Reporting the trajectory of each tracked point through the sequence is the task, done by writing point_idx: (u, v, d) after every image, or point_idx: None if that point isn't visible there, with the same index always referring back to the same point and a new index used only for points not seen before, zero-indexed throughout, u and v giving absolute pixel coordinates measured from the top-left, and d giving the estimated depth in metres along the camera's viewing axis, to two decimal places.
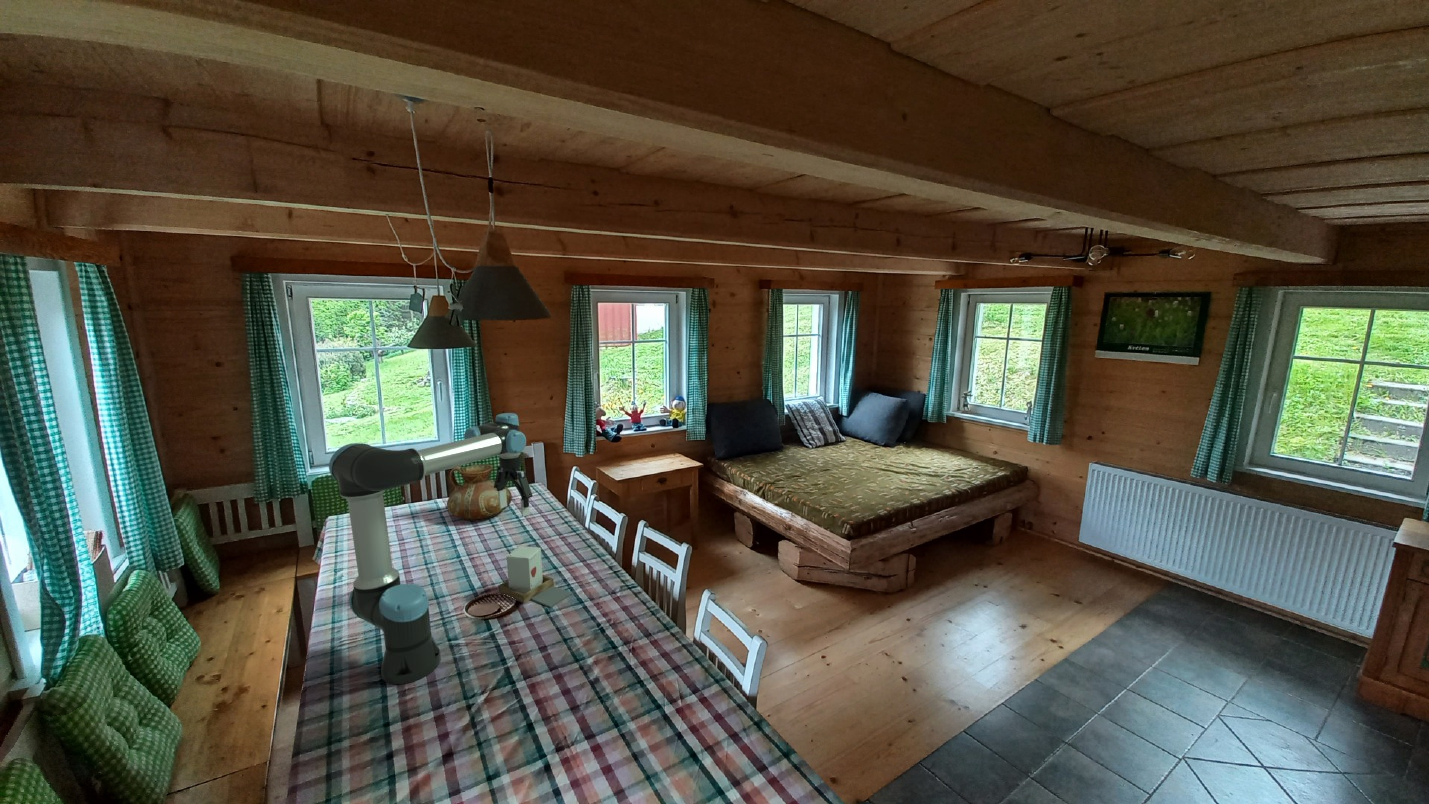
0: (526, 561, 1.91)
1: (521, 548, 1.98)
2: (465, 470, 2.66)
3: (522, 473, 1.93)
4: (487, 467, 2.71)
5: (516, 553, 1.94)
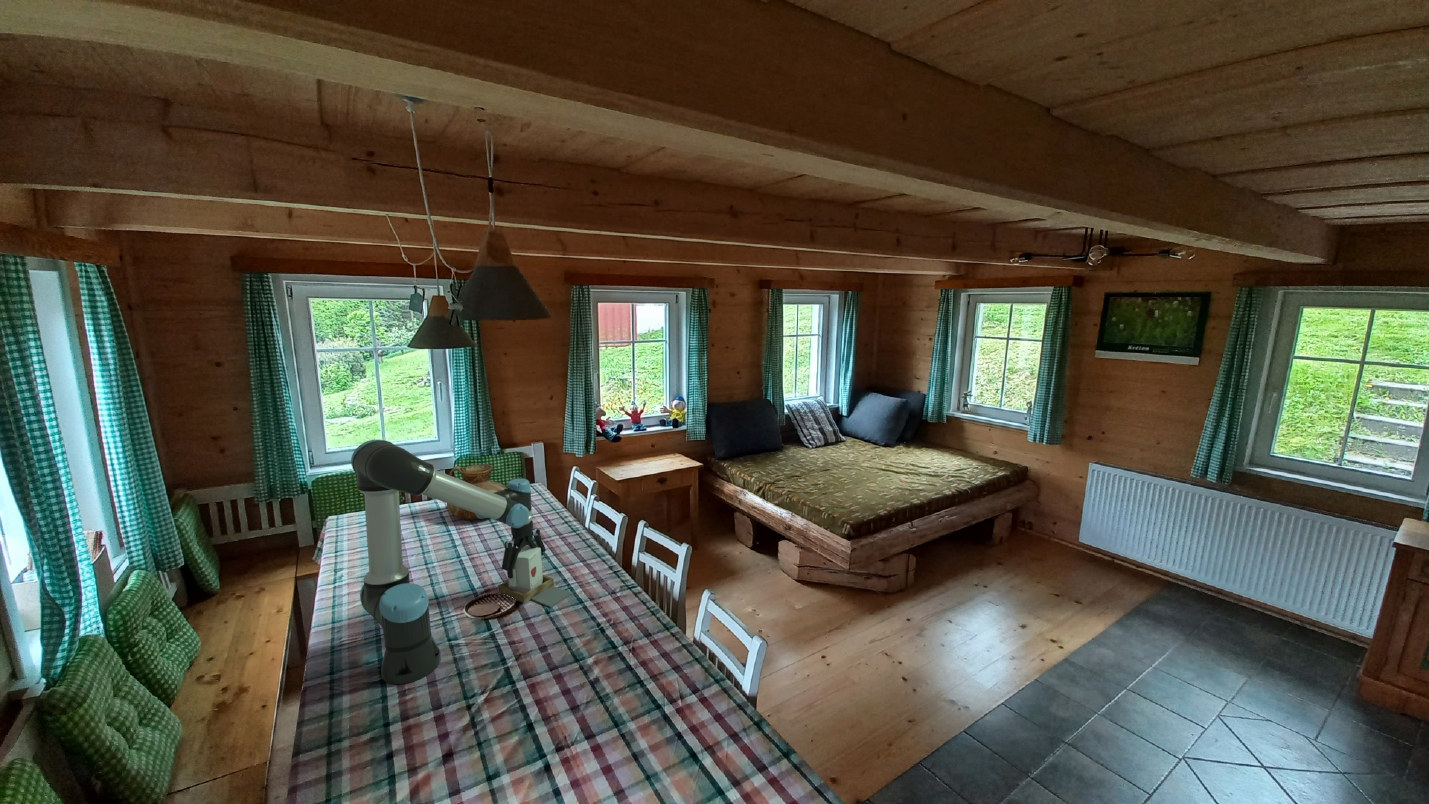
0: (526, 561, 1.91)
1: None
2: (465, 470, 2.66)
3: (507, 544, 1.89)
4: (487, 467, 2.71)
5: None
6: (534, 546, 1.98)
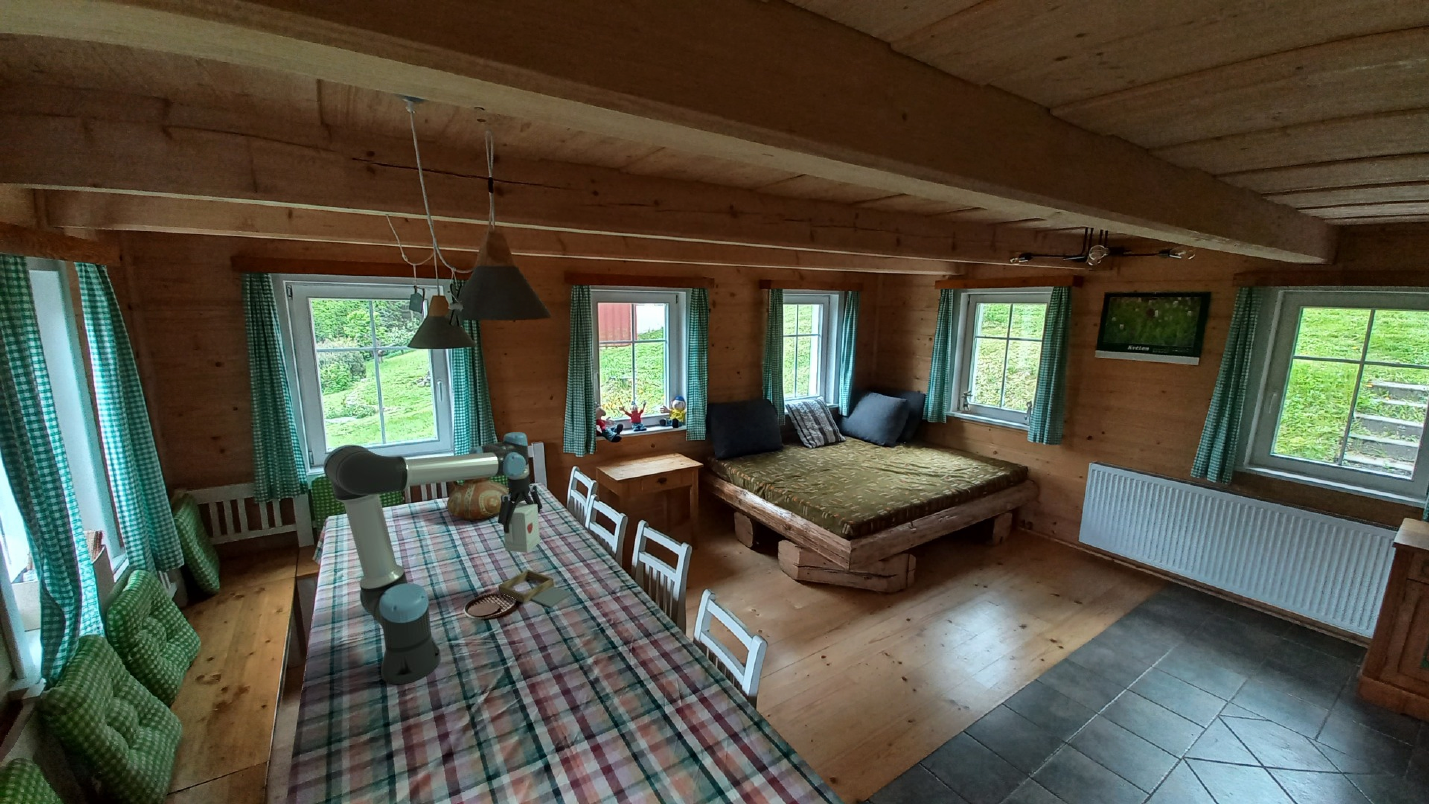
0: (522, 516, 1.88)
1: None
2: None
3: (503, 498, 1.85)
4: None
5: None
6: (531, 502, 1.95)
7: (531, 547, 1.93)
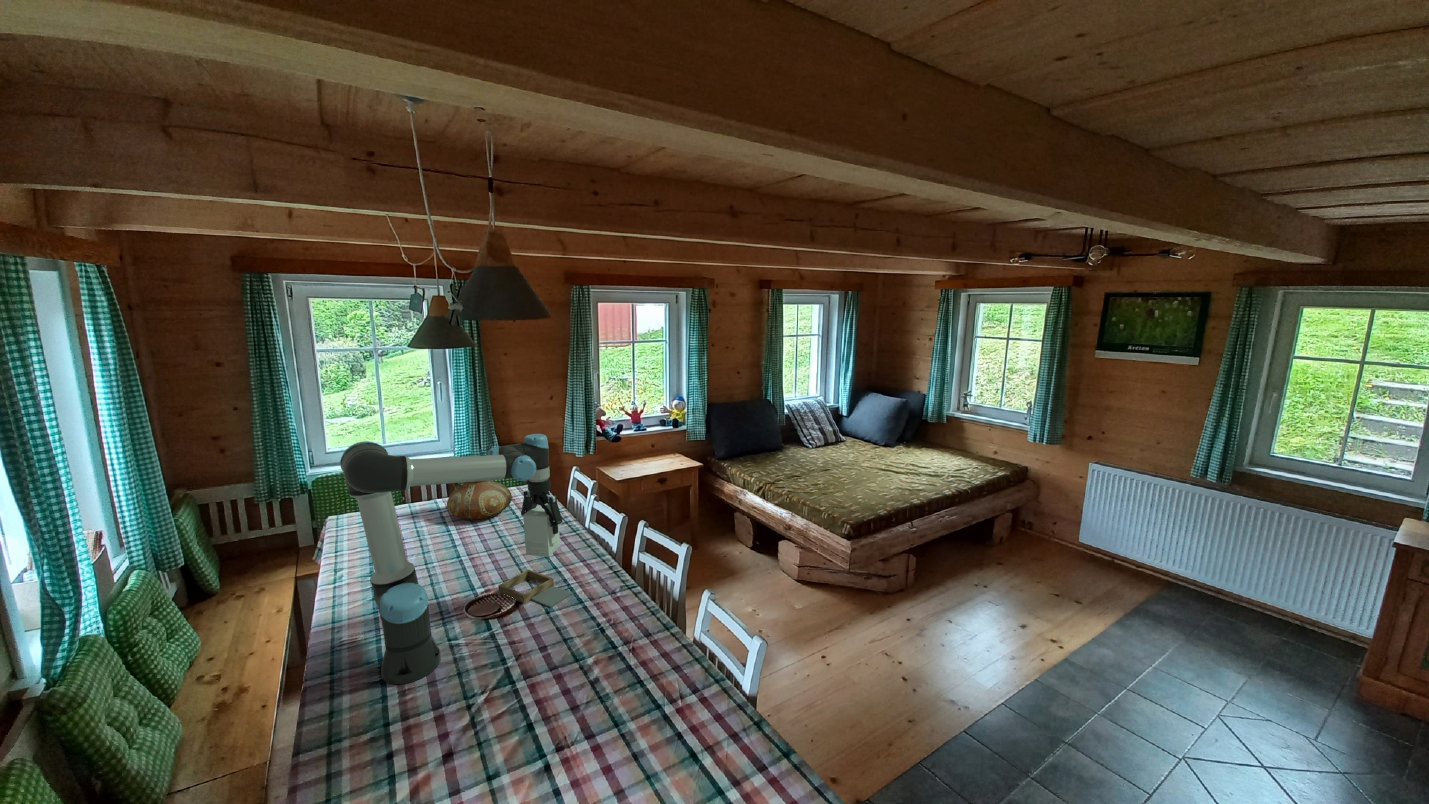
0: None
1: (531, 512, 1.86)
2: None
3: (554, 498, 1.84)
4: None
5: (543, 513, 1.86)
6: None
7: None
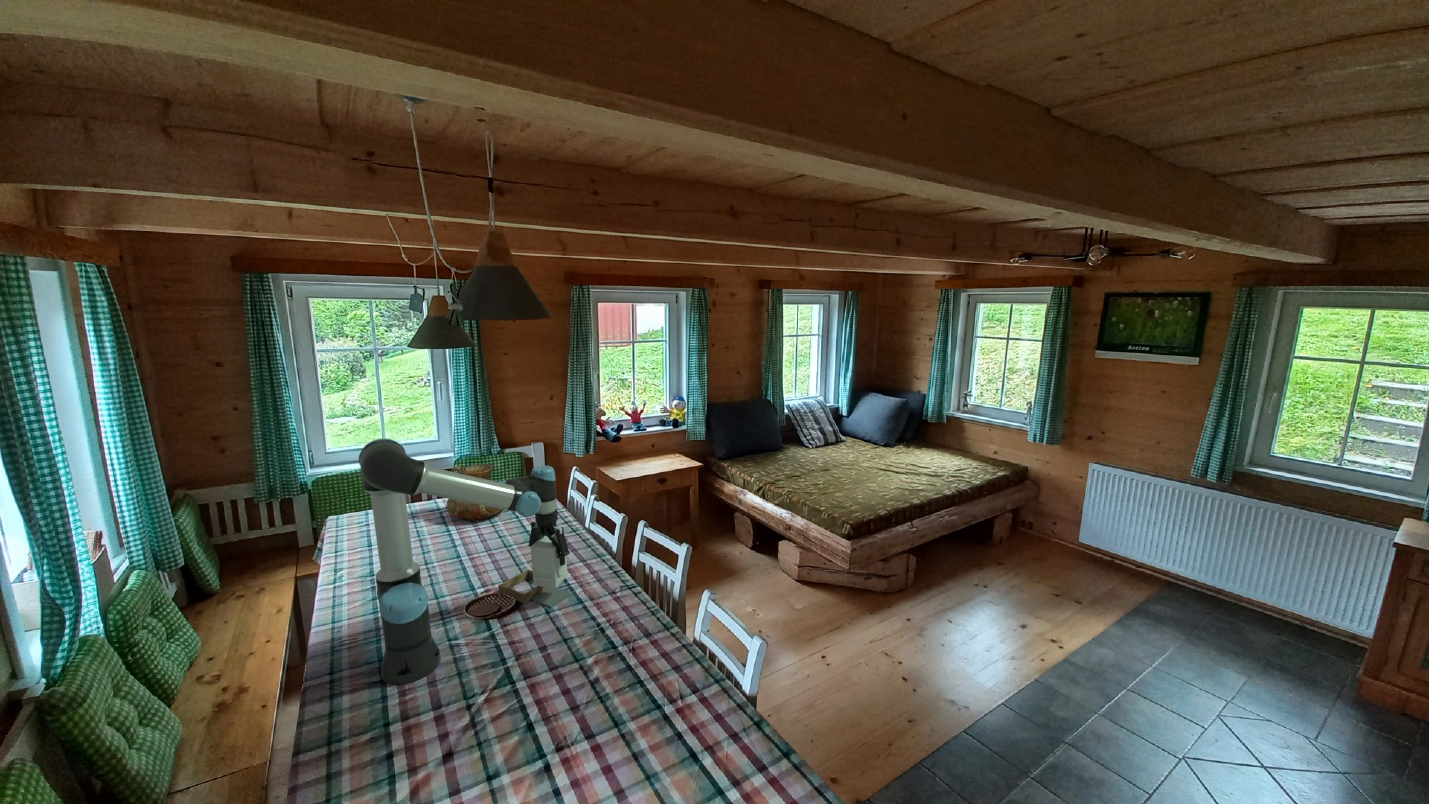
0: None
1: (539, 544, 1.87)
2: (465, 470, 2.66)
3: (561, 530, 1.85)
4: (487, 467, 2.71)
5: (550, 544, 1.87)
6: None
7: None
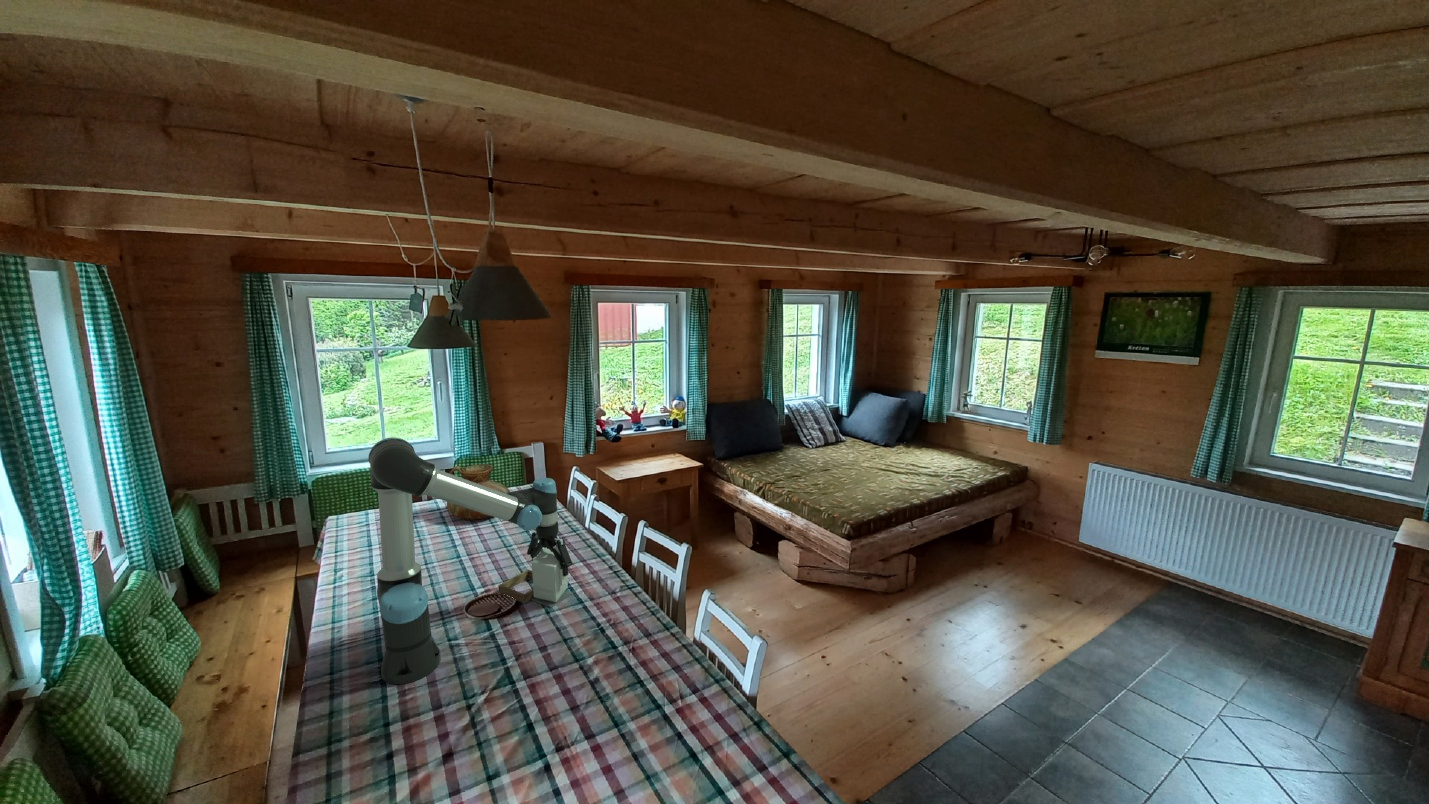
0: None
1: (540, 559, 1.86)
2: (465, 470, 2.66)
3: (561, 541, 1.85)
4: (487, 467, 2.71)
5: (552, 561, 1.86)
6: None
7: None
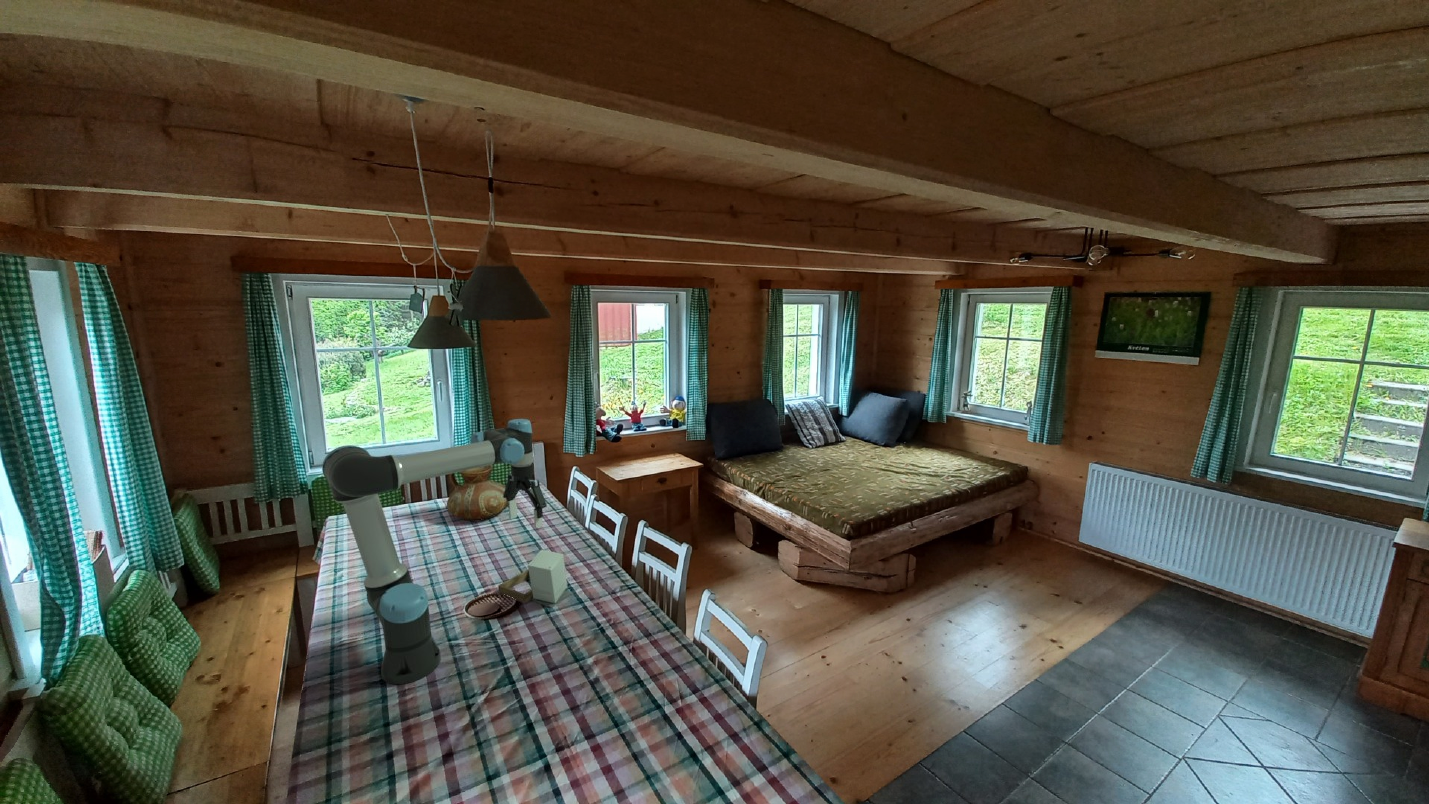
0: (562, 557, 1.89)
1: (536, 562, 1.85)
2: (465, 470, 2.66)
3: (536, 482, 1.83)
4: (487, 467, 2.71)
5: (548, 563, 1.85)
6: None
7: None
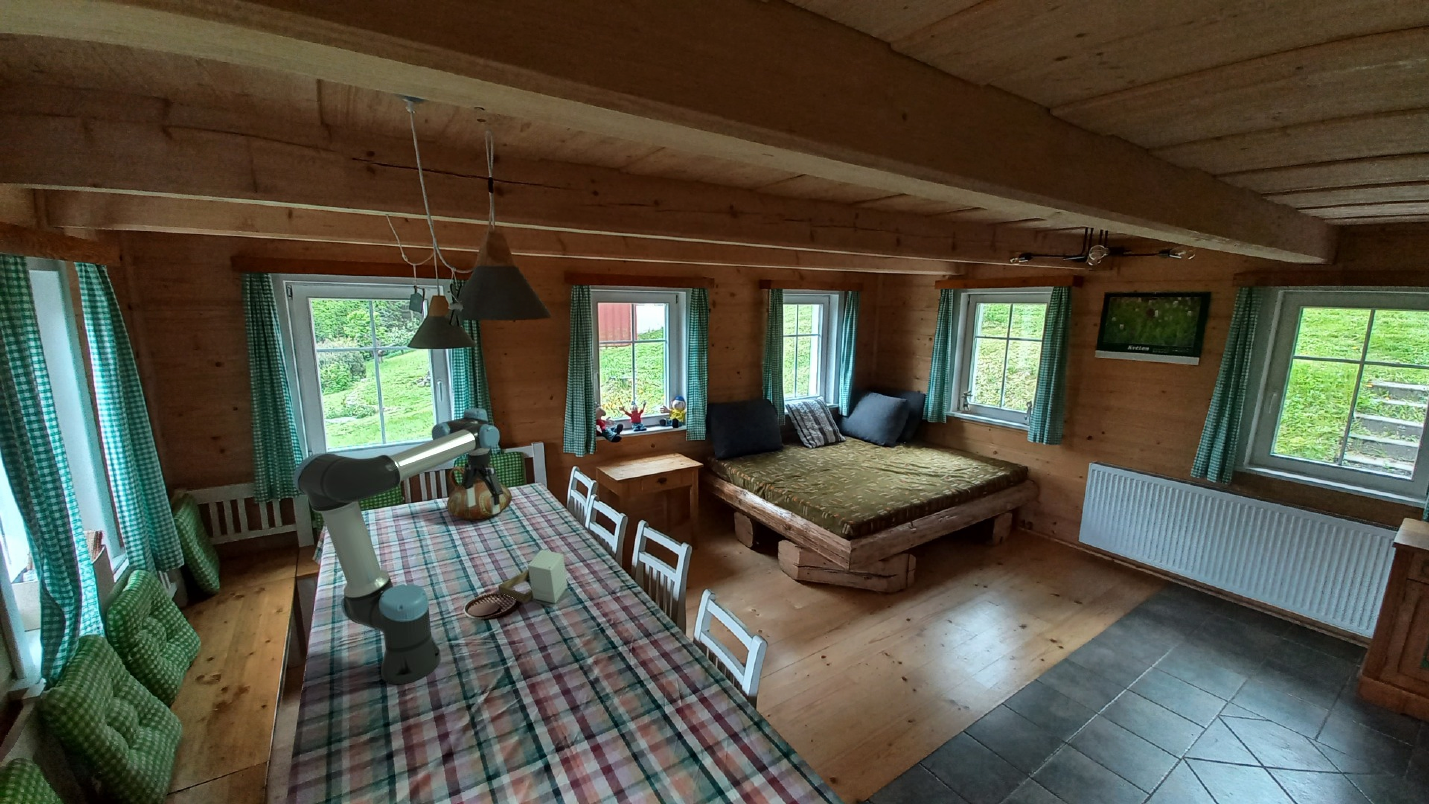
0: (562, 557, 1.89)
1: (536, 562, 1.85)
2: None
3: (492, 469, 1.88)
4: None
5: (548, 563, 1.84)
6: None
7: None
